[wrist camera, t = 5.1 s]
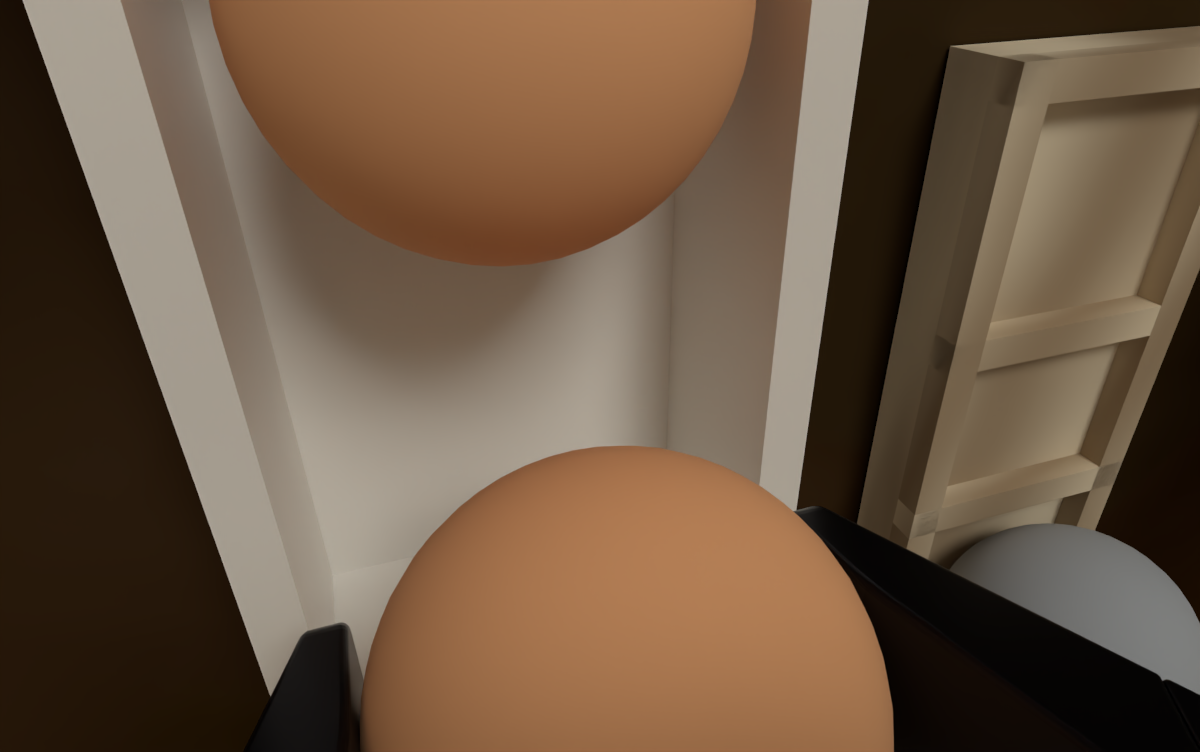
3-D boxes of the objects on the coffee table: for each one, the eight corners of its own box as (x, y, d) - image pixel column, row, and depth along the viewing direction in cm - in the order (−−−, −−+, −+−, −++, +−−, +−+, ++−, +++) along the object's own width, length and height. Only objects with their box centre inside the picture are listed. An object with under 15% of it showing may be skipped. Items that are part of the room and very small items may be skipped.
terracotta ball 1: (644, -270, 8) (931, -414, 5) (640, 166, 11) (827, 306, 7) (167, -288, 7) (21, -507, 3) (281, 206, 10) (271, 402, 6)
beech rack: (1199, 26, 13) (1291, 38, 12) (1007, 586, 20) (1054, 630, 19) (950, 46, 12) (1024, 61, 11) (834, 638, 19) (872, 689, 17)
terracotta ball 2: (754, 324, 8) (1117, 655, 5) (724, 623, 11) (952, 1004, 7) (303, 403, 7) (312, 933, 4) (382, 719, 10) (437, 1240, 6)
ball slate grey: (1092, 456, 17) (1324, 617, 13) (1033, 611, 19) (1215, 786, 15) (905, 504, 15) (1101, 696, 12) (868, 663, 18) (1021, 866, 14)
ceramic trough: (721, -386, 9) (945, -541, 6) (681, 496, 15) (777, 643, 12) (-3, -445, 7) (-233, -716, 4) (300, 585, 13) (301, 783, 10)
